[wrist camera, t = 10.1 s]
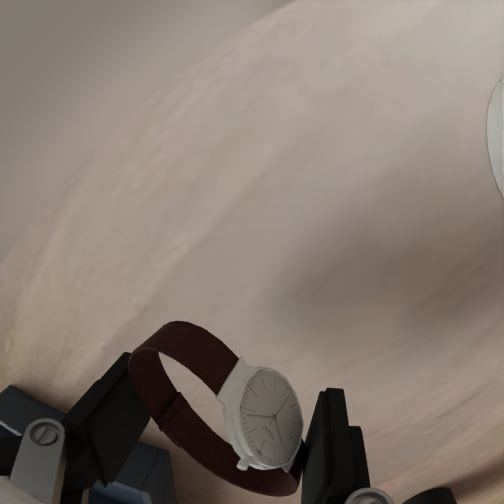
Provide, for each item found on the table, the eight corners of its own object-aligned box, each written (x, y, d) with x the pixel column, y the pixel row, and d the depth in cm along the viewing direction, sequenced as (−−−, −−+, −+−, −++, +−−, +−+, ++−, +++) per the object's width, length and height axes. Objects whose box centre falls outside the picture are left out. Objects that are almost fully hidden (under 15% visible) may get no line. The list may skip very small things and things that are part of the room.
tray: (48, 467, 22) (31, 490, 19) (9, 384, 19) (-18, 408, 15) (180, 521, 21) (169, 552, 17) (169, 451, 18) (149, 493, 14)
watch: (336, 439, 11) (341, 512, 7) (238, 469, 12) (222, 533, 8) (224, 282, 10) (185, 343, 6) (121, 340, 11) (67, 397, 7)
